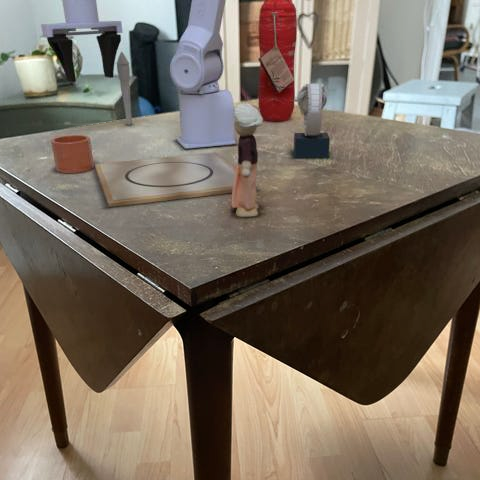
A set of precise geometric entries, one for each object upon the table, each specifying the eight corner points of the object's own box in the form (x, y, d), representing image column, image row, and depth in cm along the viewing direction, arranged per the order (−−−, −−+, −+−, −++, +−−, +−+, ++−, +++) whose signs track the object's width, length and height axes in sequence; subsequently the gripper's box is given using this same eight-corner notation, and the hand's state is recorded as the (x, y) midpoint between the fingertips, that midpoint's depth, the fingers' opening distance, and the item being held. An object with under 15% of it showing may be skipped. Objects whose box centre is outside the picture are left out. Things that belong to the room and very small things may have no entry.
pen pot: (92, 161, 89) (88, 133, 87) (95, 171, 84) (91, 141, 82) (55, 165, 87) (50, 136, 85) (57, 174, 83) (51, 144, 80)
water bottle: (290, 127, 110) (294, -18, 97) (251, 125, 111) (251, -17, 98) (297, 115, 120) (302, -17, 107) (262, 114, 121) (262, -16, 109)
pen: (137, 123, 116) (129, 50, 108) (134, 126, 113) (125, 51, 106) (125, 123, 116) (117, 50, 109) (122, 126, 113) (113, 52, 106)
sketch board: (216, 156, 91) (216, 151, 90) (255, 190, 75) (255, 184, 74) (95, 167, 86) (94, 163, 85) (109, 207, 69) (108, 201, 69)
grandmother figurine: (229, 202, 70) (226, 98, 64) (258, 201, 70) (258, 97, 64) (233, 224, 64) (231, 110, 57) (266, 222, 64) (267, 109, 57)
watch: (324, 148, 94) (329, 80, 88) (329, 160, 87) (334, 87, 81) (292, 148, 94) (294, 80, 89) (294, 160, 87) (297, 87, 82)
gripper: (104, -7, 100) (114, 73, 107) (28, -6, 92) (44, 81, 99) (124, -8, 95) (133, 76, 102) (45, -7, 87) (61, 84, 94)
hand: (90, 79), depth 100 cm, fingers open, 7 cm apart
